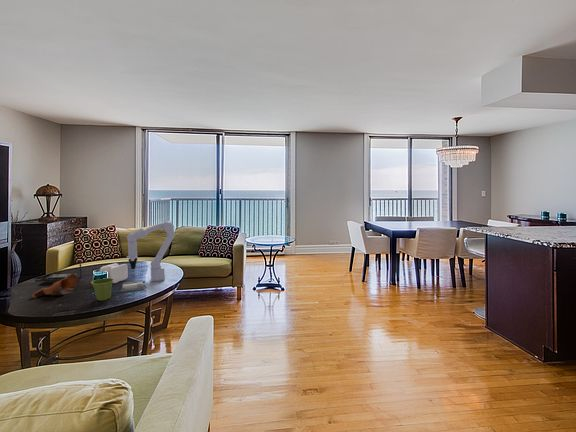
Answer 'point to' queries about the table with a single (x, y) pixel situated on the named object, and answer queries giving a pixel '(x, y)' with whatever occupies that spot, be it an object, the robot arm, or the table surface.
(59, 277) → the black wireless router
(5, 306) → the table surface
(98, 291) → the plant pot
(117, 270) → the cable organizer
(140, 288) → the board
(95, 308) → the table surface
